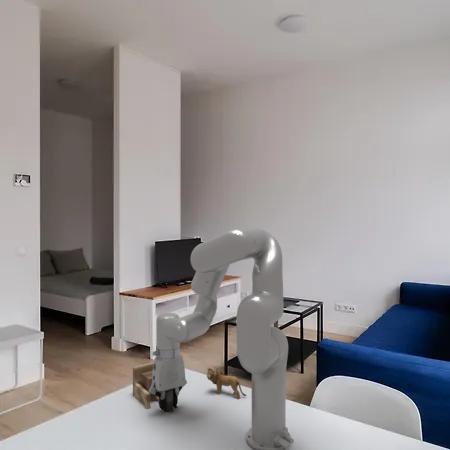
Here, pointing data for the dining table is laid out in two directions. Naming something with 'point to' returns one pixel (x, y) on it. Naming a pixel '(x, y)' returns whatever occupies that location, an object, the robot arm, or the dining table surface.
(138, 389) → the wooden stand
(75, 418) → the dining table surface
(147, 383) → the wooden lever toy
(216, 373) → the lion figurine
